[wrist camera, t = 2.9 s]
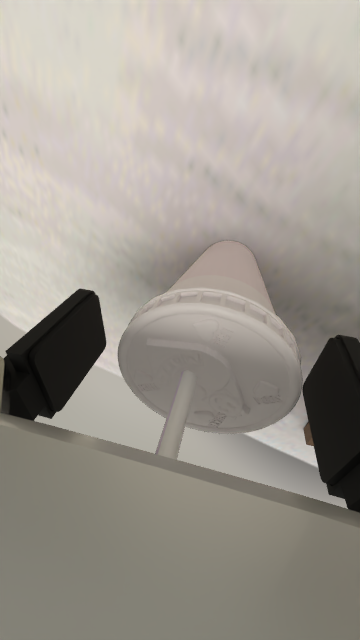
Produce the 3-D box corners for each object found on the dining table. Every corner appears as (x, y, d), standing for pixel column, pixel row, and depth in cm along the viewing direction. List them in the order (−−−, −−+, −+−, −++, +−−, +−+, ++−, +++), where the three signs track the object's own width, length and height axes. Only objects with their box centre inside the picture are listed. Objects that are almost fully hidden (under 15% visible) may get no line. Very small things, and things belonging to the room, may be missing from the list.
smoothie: (228, 191, 13) (102, 417, 2) (302, 269, 15) (442, 637, 4) (161, 268, 17) (-8, 493, 6) (226, 324, 18) (183, 590, 7)
